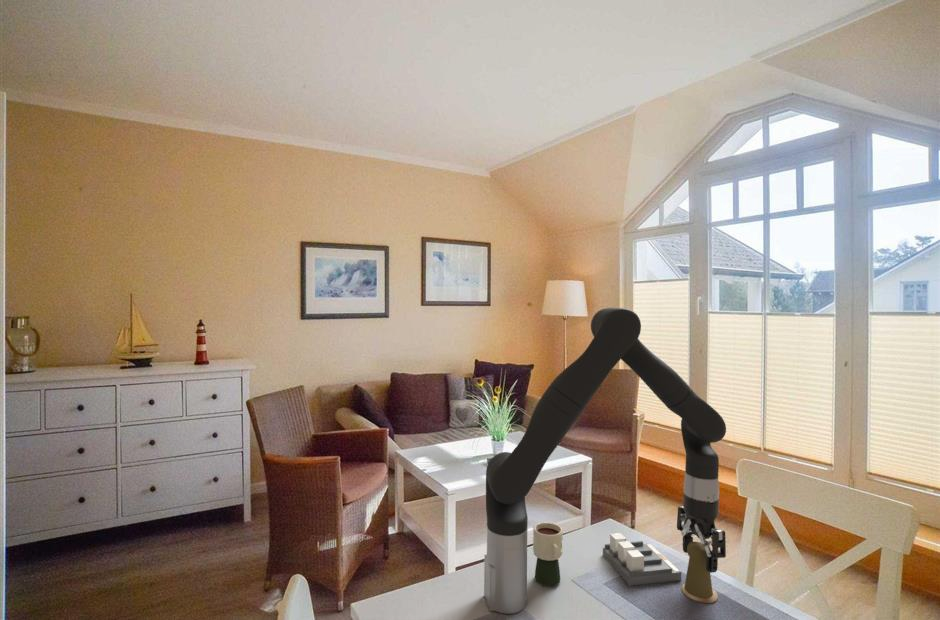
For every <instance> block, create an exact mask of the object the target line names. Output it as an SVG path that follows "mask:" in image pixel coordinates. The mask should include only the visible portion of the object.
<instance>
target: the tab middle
mask: <svg viewBox="0 0 940 620" xmlns="http://www.w3.org/2000/svg"><path fill="white" fill-rule="evenodd" d="M630 542H631V541H629V540H628V541H627V540H626V541H625V542H618V558H619V559H620V560H621V561H622V562H623V561H627V551H631V550H635V547H634V546H633V545H632V544H631V543H630Z"/></svg>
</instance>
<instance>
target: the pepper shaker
mask: <svg viewBox="0 0 940 620" xmlns="http://www.w3.org/2000/svg"><path fill="white" fill-rule="evenodd" d="M687 552H688V553H687V555H688V557H689V558H688V563H687V571H686V577H685V581H684V583H685V590H686V591H687V592H688V593H689V594H691V595H693V596H695V597H698V598H710V597H712V595H713V591H712V588H713V586H712V585H713V584H712V576H711V573H709V572H708V571H707V570H706V556H707V552H706V549H705V547H704V546H703V545H702V544H701V541H693V542H691V543H689V545H688V547H687Z"/></svg>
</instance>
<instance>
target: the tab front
mask: <svg viewBox="0 0 940 620" xmlns="http://www.w3.org/2000/svg"><path fill="white" fill-rule="evenodd" d="M626 567H627V568H628V569H629V570H630V571H639V570H644V556H643V555H642V554H641V553H640V552H639V551H638V550H631V551H627V562H626Z"/></svg>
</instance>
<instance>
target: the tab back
mask: <svg viewBox="0 0 940 620" xmlns="http://www.w3.org/2000/svg"><path fill="white" fill-rule="evenodd" d="M625 541H627V538H626V537H625V536H624V535H623V534H622V533H621V532H619V533H616V532H615V533H610V534H609V544H610V549H611V550H612V551H613V553H614V552H618V542H625Z"/></svg>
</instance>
